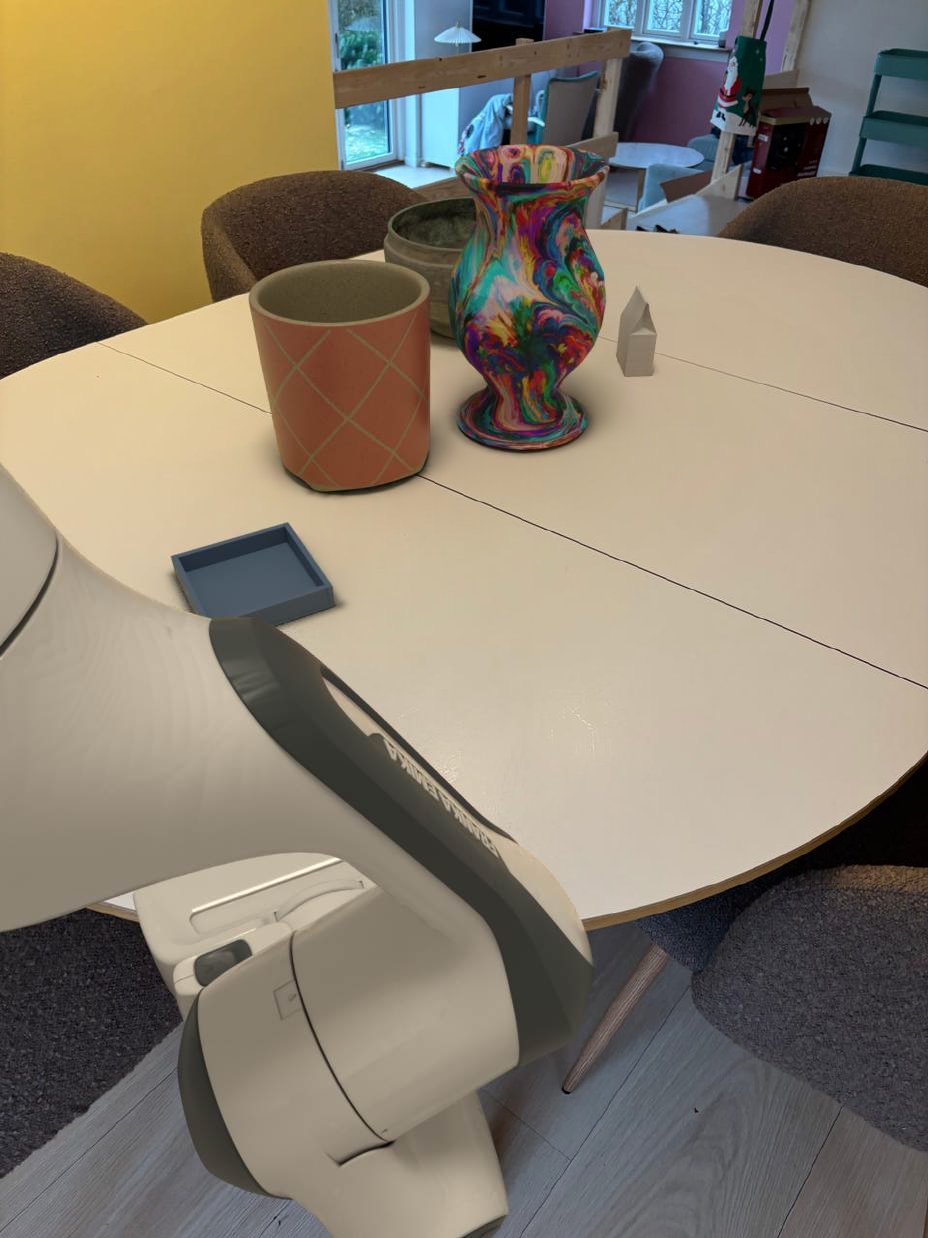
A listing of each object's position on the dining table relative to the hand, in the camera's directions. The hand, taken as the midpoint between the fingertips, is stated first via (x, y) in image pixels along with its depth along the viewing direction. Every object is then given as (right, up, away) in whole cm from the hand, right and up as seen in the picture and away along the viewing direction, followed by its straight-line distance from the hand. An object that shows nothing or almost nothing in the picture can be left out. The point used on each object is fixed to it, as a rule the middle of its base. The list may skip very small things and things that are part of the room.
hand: (277, 786), depth 61 cm
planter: (0, +31, +46) cm, 56 cm away
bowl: (+14, +57, +77) cm, 97 cm away
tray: (-8, +14, +27) cm, 31 cm away
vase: (+20, +37, +53) cm, 67 cm away
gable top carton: (+37, +47, +65) cm, 88 cm away
